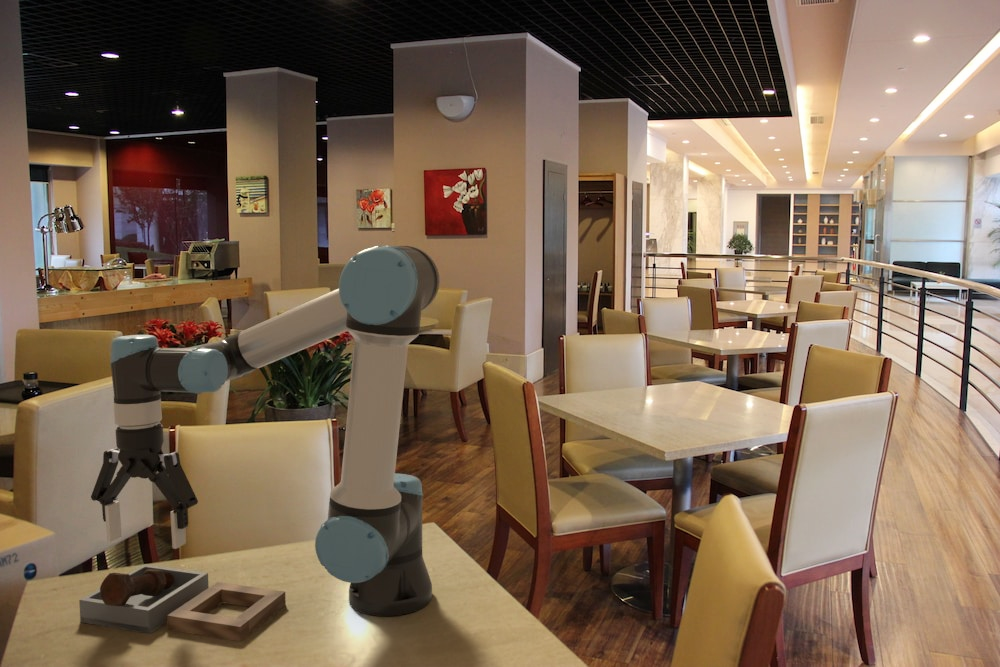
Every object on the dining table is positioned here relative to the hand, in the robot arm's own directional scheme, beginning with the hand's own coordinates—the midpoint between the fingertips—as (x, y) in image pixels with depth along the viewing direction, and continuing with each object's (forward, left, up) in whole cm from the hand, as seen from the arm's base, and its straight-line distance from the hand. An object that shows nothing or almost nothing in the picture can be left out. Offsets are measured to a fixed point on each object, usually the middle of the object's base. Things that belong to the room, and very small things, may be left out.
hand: (146, 542), depth 143 cm
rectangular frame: (-16, -1, -12) cm, 20 cm away
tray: (0, 0, -12) cm, 12 cm away
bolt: (0, +1, -5) cm, 5 cm away
